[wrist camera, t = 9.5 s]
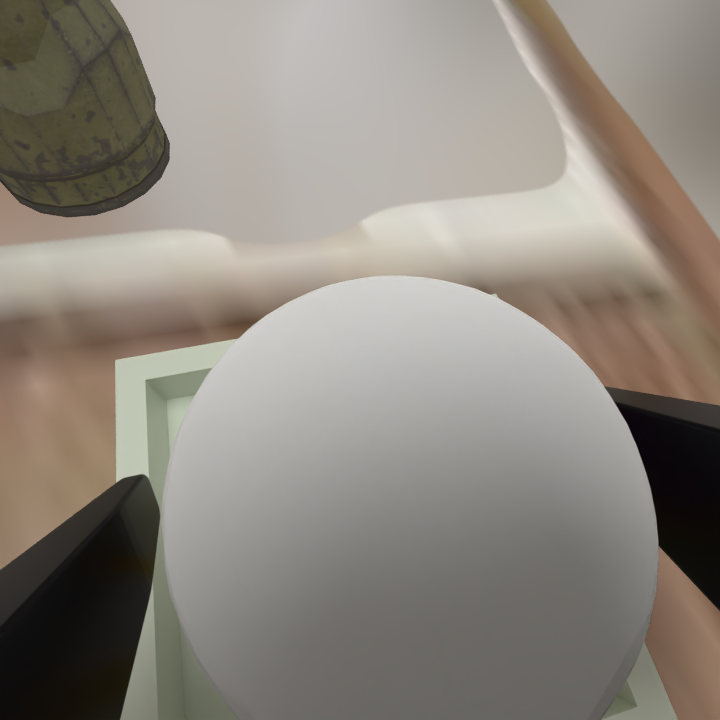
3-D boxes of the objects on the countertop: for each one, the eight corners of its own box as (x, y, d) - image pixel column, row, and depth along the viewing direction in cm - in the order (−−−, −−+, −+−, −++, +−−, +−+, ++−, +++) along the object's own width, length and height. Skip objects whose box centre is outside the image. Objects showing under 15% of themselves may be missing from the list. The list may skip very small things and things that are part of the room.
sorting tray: (473, 328, 21) (496, 294, 18) (619, 704, 15) (686, 738, 12) (147, 389, 18) (115, 360, 16) (165, 863, 12) (120, 950, 10)
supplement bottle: (473, 591, 15) (962, 717, 3) (295, 683, 14) (106, 1420, 2) (395, 421, 18) (528, 156, 6) (236, 484, 16) (-5, 300, 4)
